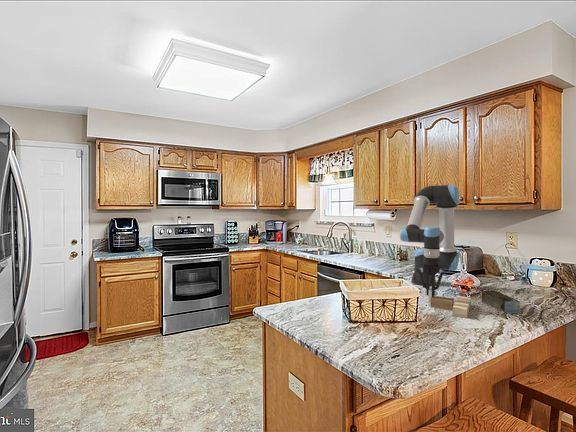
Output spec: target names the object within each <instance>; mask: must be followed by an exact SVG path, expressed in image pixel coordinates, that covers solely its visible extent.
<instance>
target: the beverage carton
mask: <svg viewBox="0 0 576 432" xmlns="http://www.w3.org/2000/svg"><path fill="white" fill-rule="evenodd" d="M481 302H483V303H484V304H486V305H488V306H490V307H491V308H492V307H493V308H495V309H497V310H498V311H500V312H502V311H503V313H505V314H507V313H510V314H514V313H515V314H516V313H520V311H521V310H520V309H521V308H520V307H521V306H520V305H521V304H520V303H521V302H520V300H517V299H515V298H514V297H510V296H509V295H506V294H504V293H501V292H500V291H497V290H482V291H481Z"/></svg>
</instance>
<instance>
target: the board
mask: <svg viewBox="0 0 576 432" xmlns="http://www.w3.org/2000/svg"><path fill="white" fill-rule="evenodd" d="M471 304H472V297H470V296H463V295H462V296H461V295H457V296H456V299H455V300H454V305H453V310H452V311H451V312H452V317H458V318H464V319H467V318H468V315H469V313H470V309H471Z"/></svg>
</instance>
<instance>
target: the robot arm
mask: <svg viewBox="0 0 576 432" xmlns="http://www.w3.org/2000/svg"><path fill="white" fill-rule="evenodd" d="M460 203H461V197H460V190H459V187H458V186H457V185H455V184H454V185H453V184H443V185H441V184H439V185H436V184H435V185H433V184H432V185H426V186H425V187H423V188H422V189H420V190H419V191H418V192H417V193H416V194H415V195H414V199H413V207H412V210H411V212H410V216H409V219H408V222H407V225H406V227H404V228H401V229H400V230H399V239H400V241H401V242H404V243H405V242H406V243H422V244H423V247H422V248H416V249H415V251H414V264H413V265H414V269H413V270H414V271H413V273H412V277H411V281H410V283H411V284H415V285H417V286H422V288H424V289H425V290H426V291H425V292H426V293H425V294H426V296H428V298H427V299H428V303H430V299H431V297H432V296H436V291H435V290H439V288H440V285H441V282H442V279H443V275H445V272H446V271H456V270H457V269H458V267H459V262H460V257H461V256H460V255H461V253H460V252H458V249H457V248H456V247H455V210H456V209H457V208H458V205H460ZM430 205H435V206H436V208H437V209H438V224H439V226H426V227H424V229H423V228H422V225H423V222H424V219H425V215H426V212H427V209H428V208H429V206H430ZM437 274H439V276H438V279H436V275H437Z"/></svg>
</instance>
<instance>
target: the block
mask: <svg viewBox="0 0 576 432" xmlns="http://www.w3.org/2000/svg"><path fill="white" fill-rule="evenodd" d="M454 303H455V298H452V297H446V296H438V295H434V296H432V297H431V299H430V304H429V305H430V306H429V308H433V309H439V310H447V311H450V312H453V305H454Z"/></svg>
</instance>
